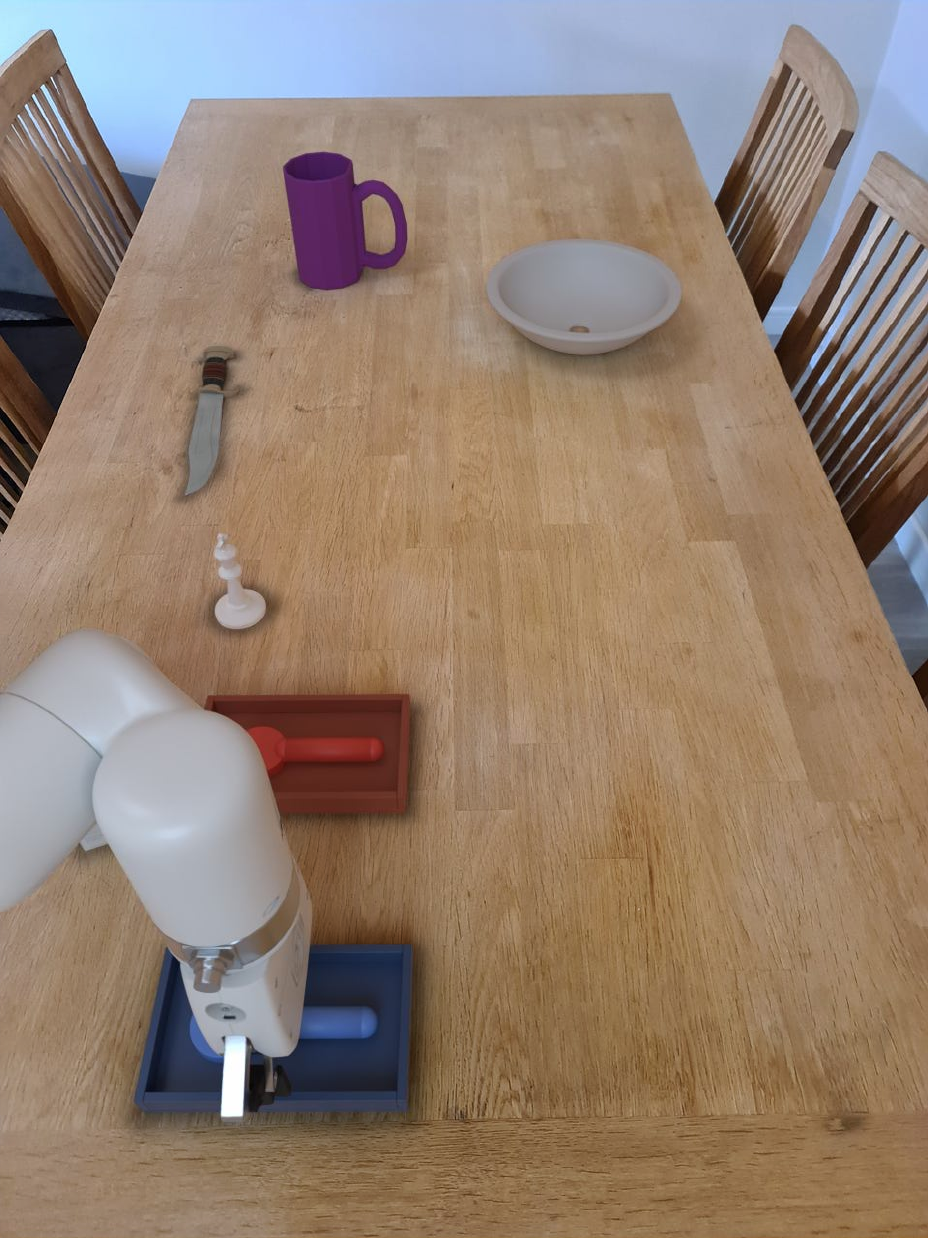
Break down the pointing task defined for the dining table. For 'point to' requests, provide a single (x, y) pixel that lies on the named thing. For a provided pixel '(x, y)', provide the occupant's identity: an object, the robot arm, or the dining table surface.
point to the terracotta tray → (332, 718)
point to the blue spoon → (311, 1026)
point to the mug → (335, 220)
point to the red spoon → (312, 749)
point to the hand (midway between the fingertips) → (276, 1012)
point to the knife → (208, 417)
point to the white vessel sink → (583, 294)
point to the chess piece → (235, 591)
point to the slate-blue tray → (316, 1066)
